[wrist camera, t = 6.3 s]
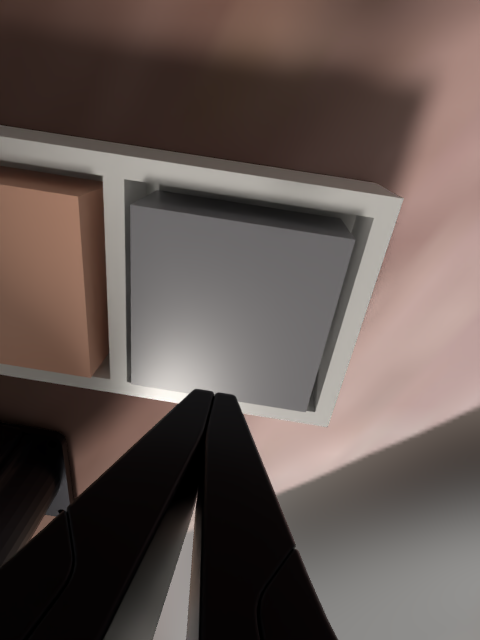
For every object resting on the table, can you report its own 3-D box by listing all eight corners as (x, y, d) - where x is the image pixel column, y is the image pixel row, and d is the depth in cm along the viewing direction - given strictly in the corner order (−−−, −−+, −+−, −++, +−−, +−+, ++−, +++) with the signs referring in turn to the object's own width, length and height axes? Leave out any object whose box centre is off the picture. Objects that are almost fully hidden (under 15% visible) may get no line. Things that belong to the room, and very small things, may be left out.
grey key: (301, 369, 15) (305, 412, 13) (152, 345, 15) (131, 384, 13) (340, 218, 12) (355, 239, 10) (156, 190, 12) (130, 204, 10)
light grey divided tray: (318, 378, 16) (327, 427, 14) (-193, 296, 17) (-281, 329, 14) (376, 183, 12) (403, 198, 10) (-292, 80, 13) (-442, 68, 10)
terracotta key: (118, 340, 15) (90, 378, 13) (-30, 316, 15) (-83, 350, 13) (114, 183, 12) (77, 196, 10) (-68, 155, 12) (-145, 162, 10)
